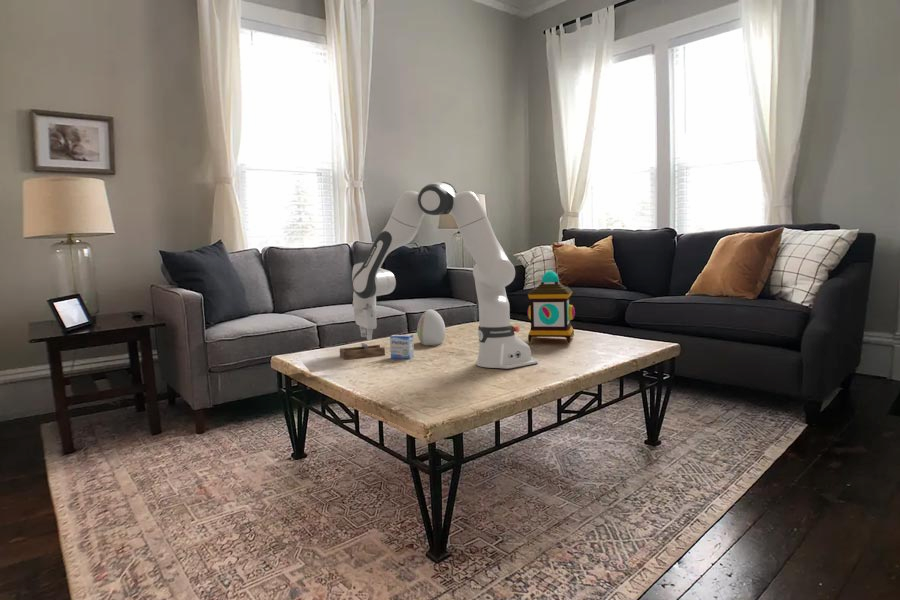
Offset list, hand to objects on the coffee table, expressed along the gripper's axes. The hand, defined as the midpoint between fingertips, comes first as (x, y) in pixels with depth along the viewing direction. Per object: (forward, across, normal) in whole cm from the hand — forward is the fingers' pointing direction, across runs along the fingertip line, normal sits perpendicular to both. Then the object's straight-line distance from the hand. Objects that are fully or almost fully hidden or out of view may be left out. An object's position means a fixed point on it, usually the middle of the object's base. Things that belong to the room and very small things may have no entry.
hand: (366, 338), depth 214 cm
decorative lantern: (+7, -11, -78) cm, 79 cm away
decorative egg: (+7, +10, -31) cm, 33 cm away
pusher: (+7, 0, +2) cm, 7 cm away
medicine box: (+7, -13, -10) cm, 18 cm away
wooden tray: (+7, 0, +2) cm, 7 cm away
